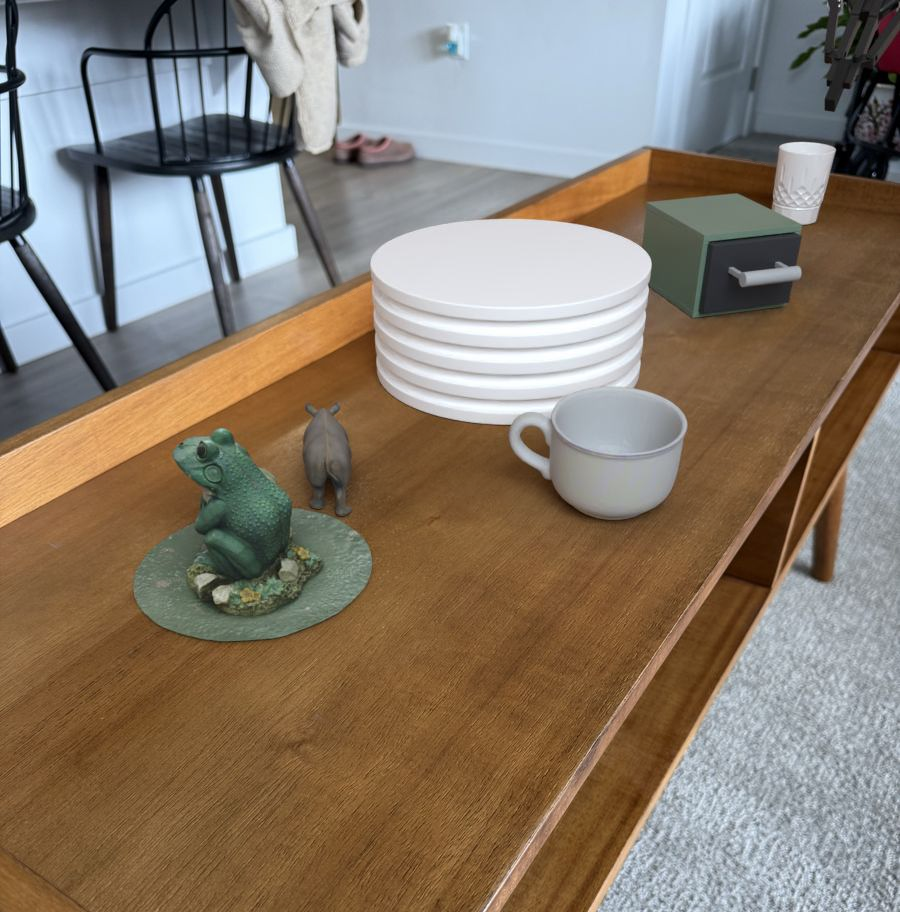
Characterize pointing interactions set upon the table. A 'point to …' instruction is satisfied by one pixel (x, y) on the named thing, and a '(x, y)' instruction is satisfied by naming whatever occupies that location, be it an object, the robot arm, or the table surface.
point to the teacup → (608, 449)
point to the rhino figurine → (327, 457)
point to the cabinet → (701, 241)
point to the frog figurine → (247, 555)
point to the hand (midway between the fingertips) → (829, 105)
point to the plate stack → (507, 316)
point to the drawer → (749, 272)
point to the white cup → (801, 180)
